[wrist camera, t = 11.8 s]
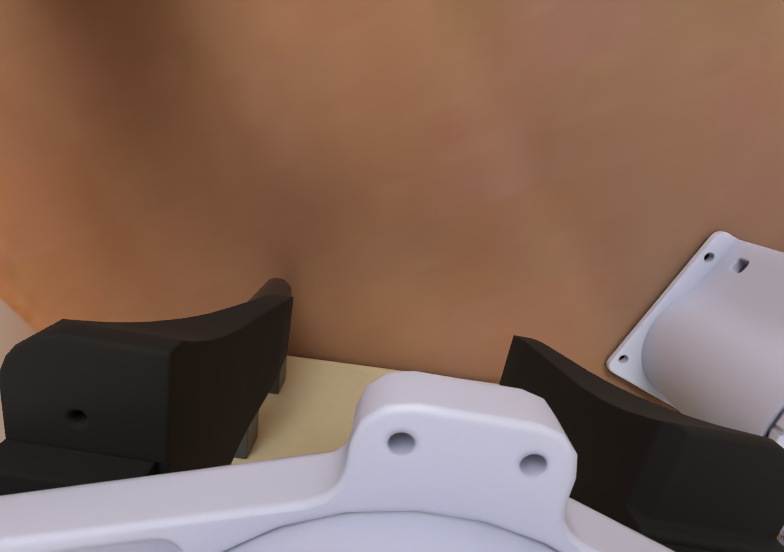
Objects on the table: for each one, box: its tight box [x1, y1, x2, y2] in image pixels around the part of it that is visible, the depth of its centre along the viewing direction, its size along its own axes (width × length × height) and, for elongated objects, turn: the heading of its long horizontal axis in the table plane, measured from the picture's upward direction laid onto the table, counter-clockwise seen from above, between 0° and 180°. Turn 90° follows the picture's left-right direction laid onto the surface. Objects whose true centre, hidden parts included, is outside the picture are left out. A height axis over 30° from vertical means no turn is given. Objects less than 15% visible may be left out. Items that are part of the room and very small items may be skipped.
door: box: [231, 278, 499, 465], centre depth 20 cm, size 6×16×10 cm, turn 82°
